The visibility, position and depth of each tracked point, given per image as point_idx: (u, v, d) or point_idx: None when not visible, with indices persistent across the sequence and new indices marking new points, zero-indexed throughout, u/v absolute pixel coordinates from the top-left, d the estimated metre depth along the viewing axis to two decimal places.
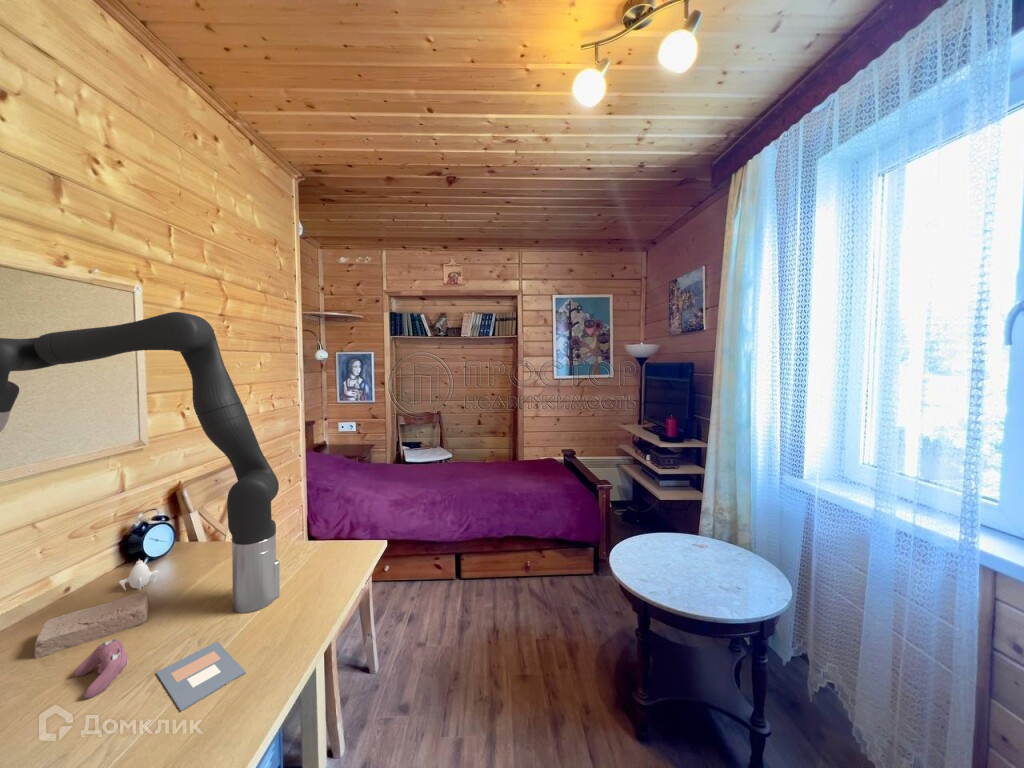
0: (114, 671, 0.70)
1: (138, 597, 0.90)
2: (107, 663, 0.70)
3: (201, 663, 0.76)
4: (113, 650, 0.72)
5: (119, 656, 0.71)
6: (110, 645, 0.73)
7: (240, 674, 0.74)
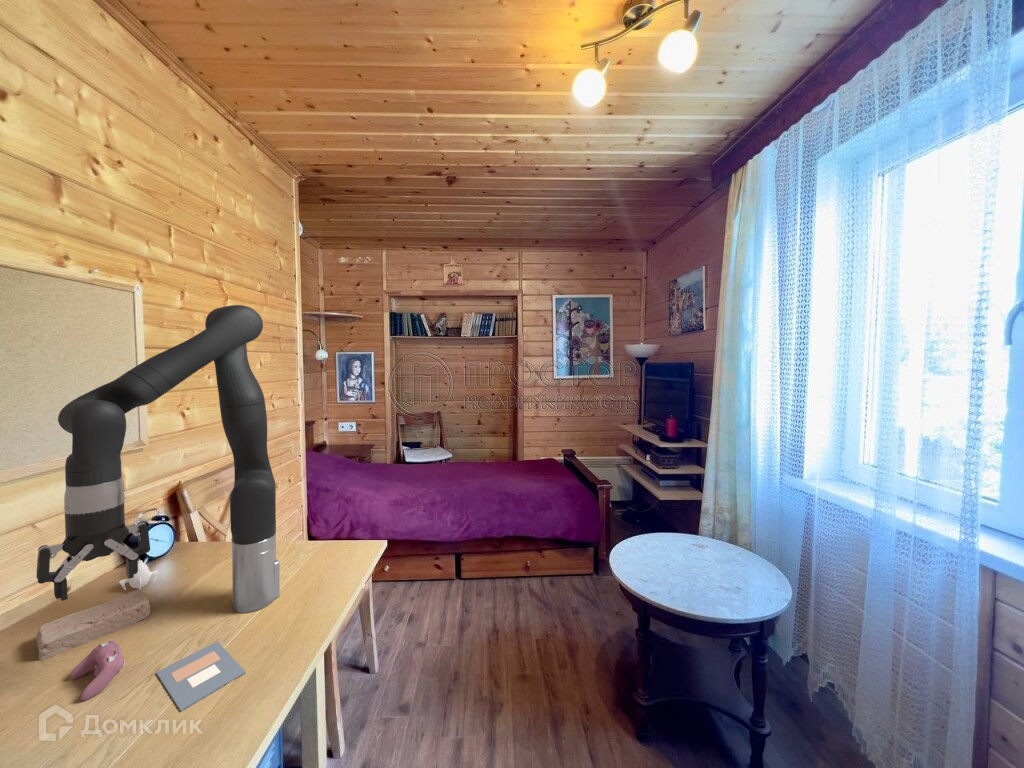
0: (110, 673, 0.70)
1: (135, 595, 0.91)
2: (103, 665, 0.70)
3: (201, 663, 0.76)
4: (109, 652, 0.72)
5: (115, 658, 0.71)
6: (106, 647, 0.72)
7: (240, 674, 0.74)
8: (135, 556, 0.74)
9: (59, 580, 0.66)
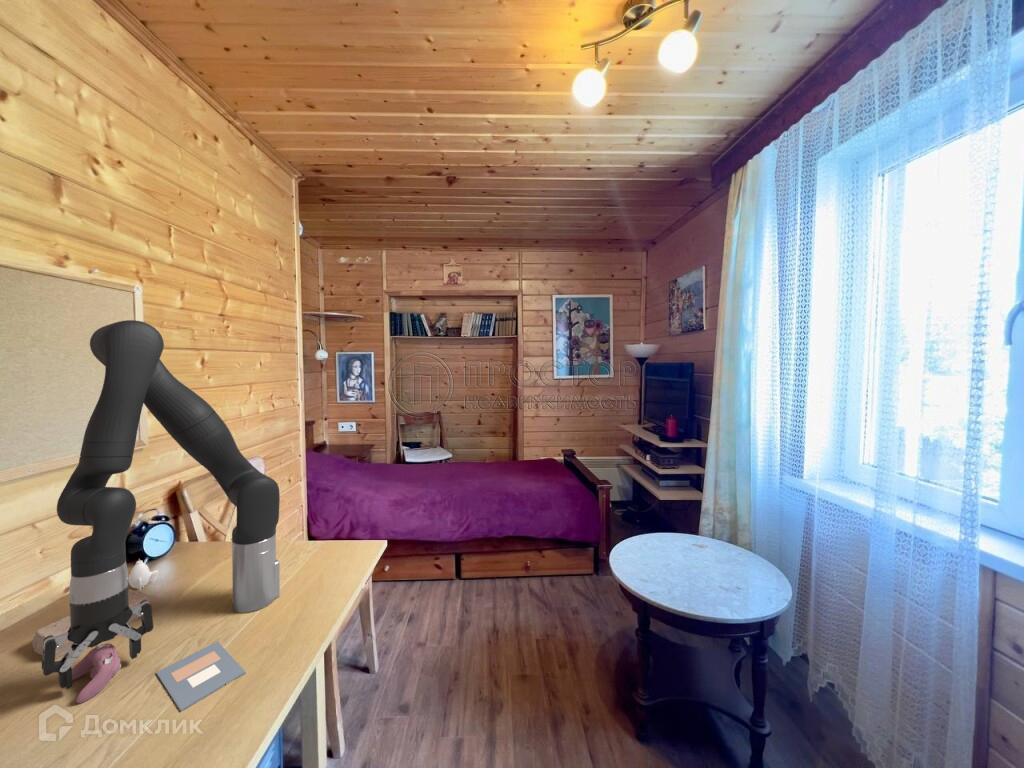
0: (106, 675, 0.69)
1: (129, 593, 0.91)
2: (99, 667, 0.69)
3: (201, 663, 0.76)
4: (105, 654, 0.71)
5: (112, 660, 0.70)
6: (103, 649, 0.72)
7: (240, 674, 0.74)
8: (138, 636, 0.75)
9: (64, 670, 0.67)
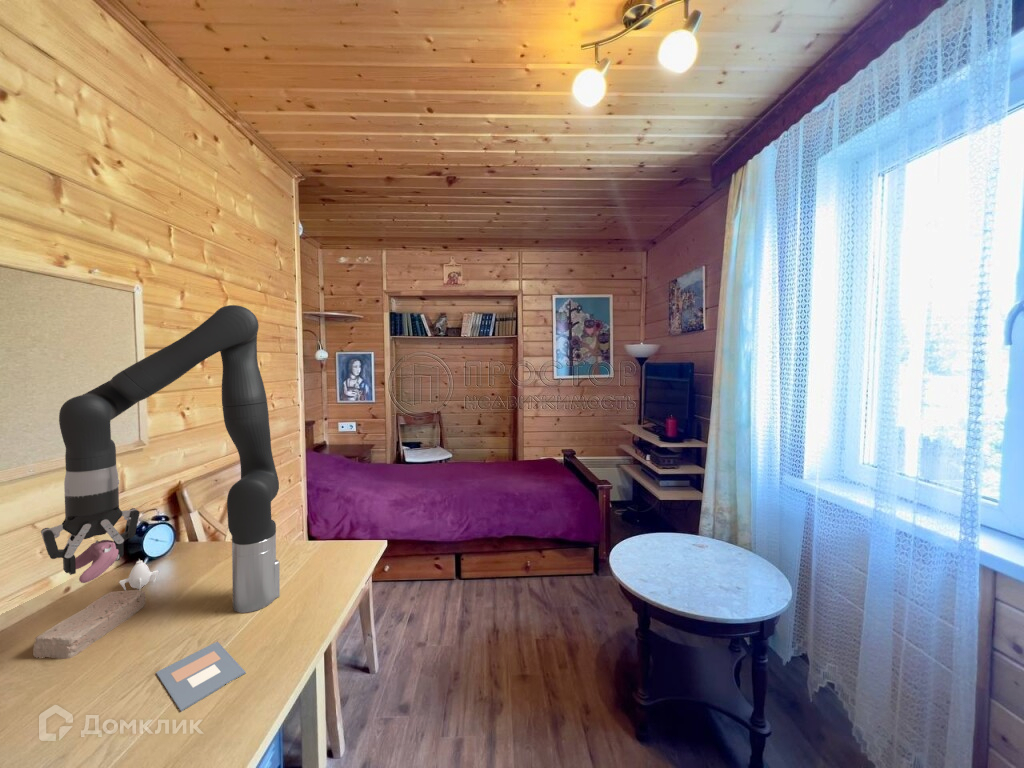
0: (106, 562, 0.77)
1: (115, 594, 0.91)
2: (100, 554, 0.77)
3: (201, 663, 0.76)
4: (105, 545, 0.79)
5: (111, 550, 0.78)
6: (102, 542, 0.80)
7: (240, 674, 0.74)
8: (121, 540, 0.81)
9: (69, 556, 0.75)
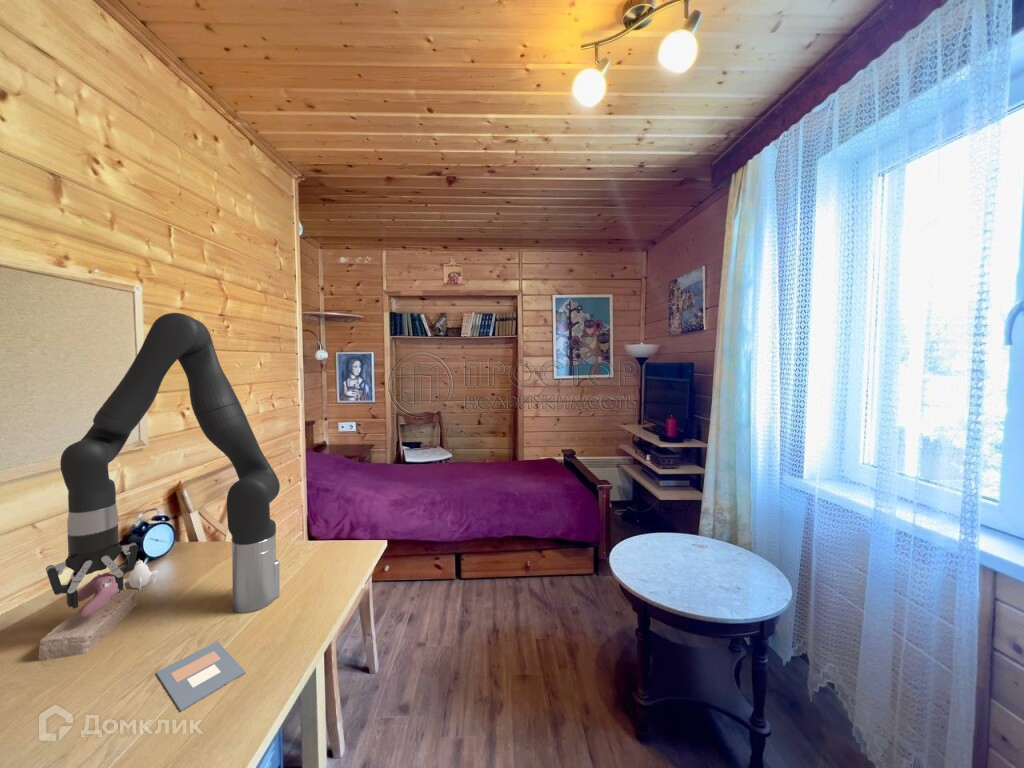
0: (106, 596, 0.82)
1: None
2: (100, 589, 0.82)
3: (201, 663, 0.76)
4: (105, 579, 0.84)
5: (110, 584, 0.83)
6: (103, 576, 0.85)
7: (240, 674, 0.74)
8: (121, 574, 0.86)
9: (72, 591, 0.80)
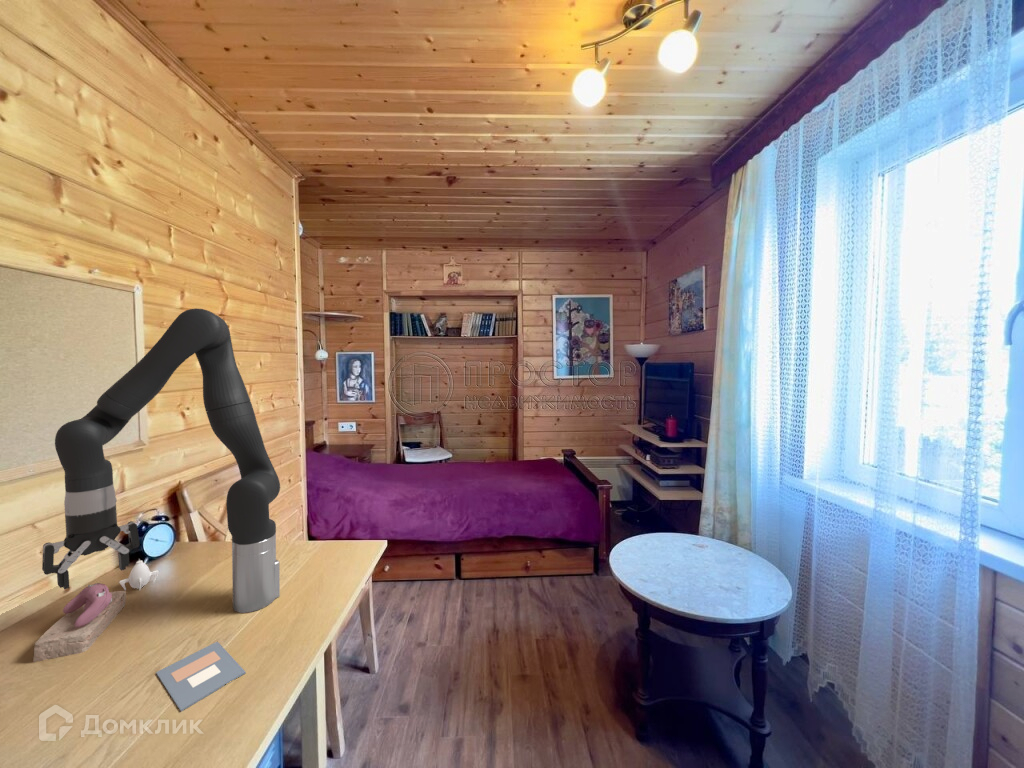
0: (100, 605, 0.82)
1: None
2: (94, 599, 0.82)
3: (201, 663, 0.76)
4: (98, 589, 0.84)
5: (104, 594, 0.83)
6: (95, 586, 0.84)
7: (240, 674, 0.74)
8: (126, 551, 0.87)
9: (62, 571, 0.78)
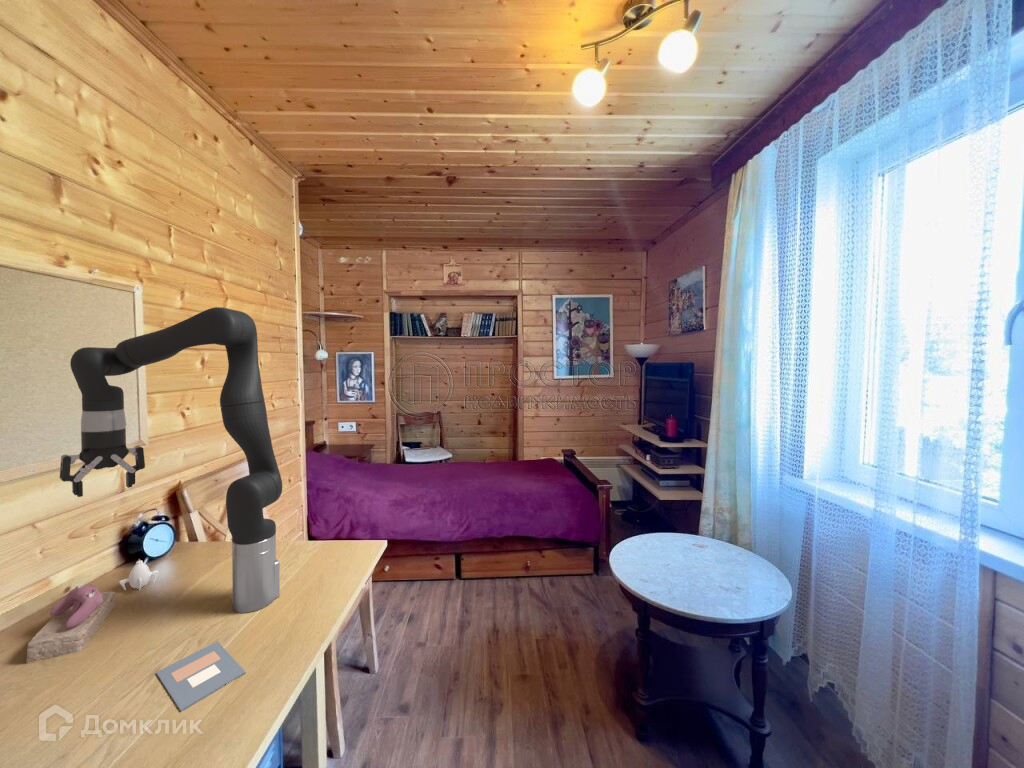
0: (91, 606, 0.82)
1: None
2: (84, 600, 0.81)
3: (201, 663, 0.76)
4: (88, 590, 0.83)
5: (95, 594, 0.83)
6: (84, 587, 0.84)
7: (240, 674, 0.74)
8: (133, 470, 0.97)
9: (77, 481, 0.89)
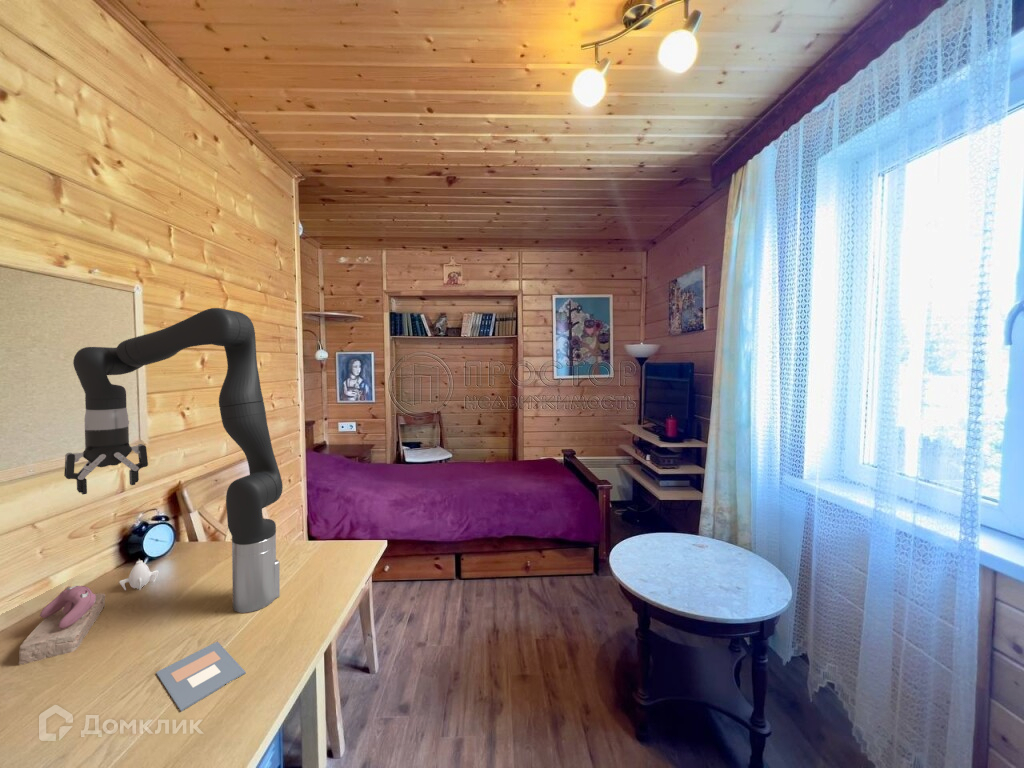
0: (85, 606, 0.82)
1: None
2: (78, 600, 0.82)
3: (201, 663, 0.76)
4: (81, 591, 0.83)
5: (88, 595, 0.83)
6: (76, 588, 0.84)
7: (240, 674, 0.74)
8: (136, 468, 0.98)
9: (81, 478, 0.90)
